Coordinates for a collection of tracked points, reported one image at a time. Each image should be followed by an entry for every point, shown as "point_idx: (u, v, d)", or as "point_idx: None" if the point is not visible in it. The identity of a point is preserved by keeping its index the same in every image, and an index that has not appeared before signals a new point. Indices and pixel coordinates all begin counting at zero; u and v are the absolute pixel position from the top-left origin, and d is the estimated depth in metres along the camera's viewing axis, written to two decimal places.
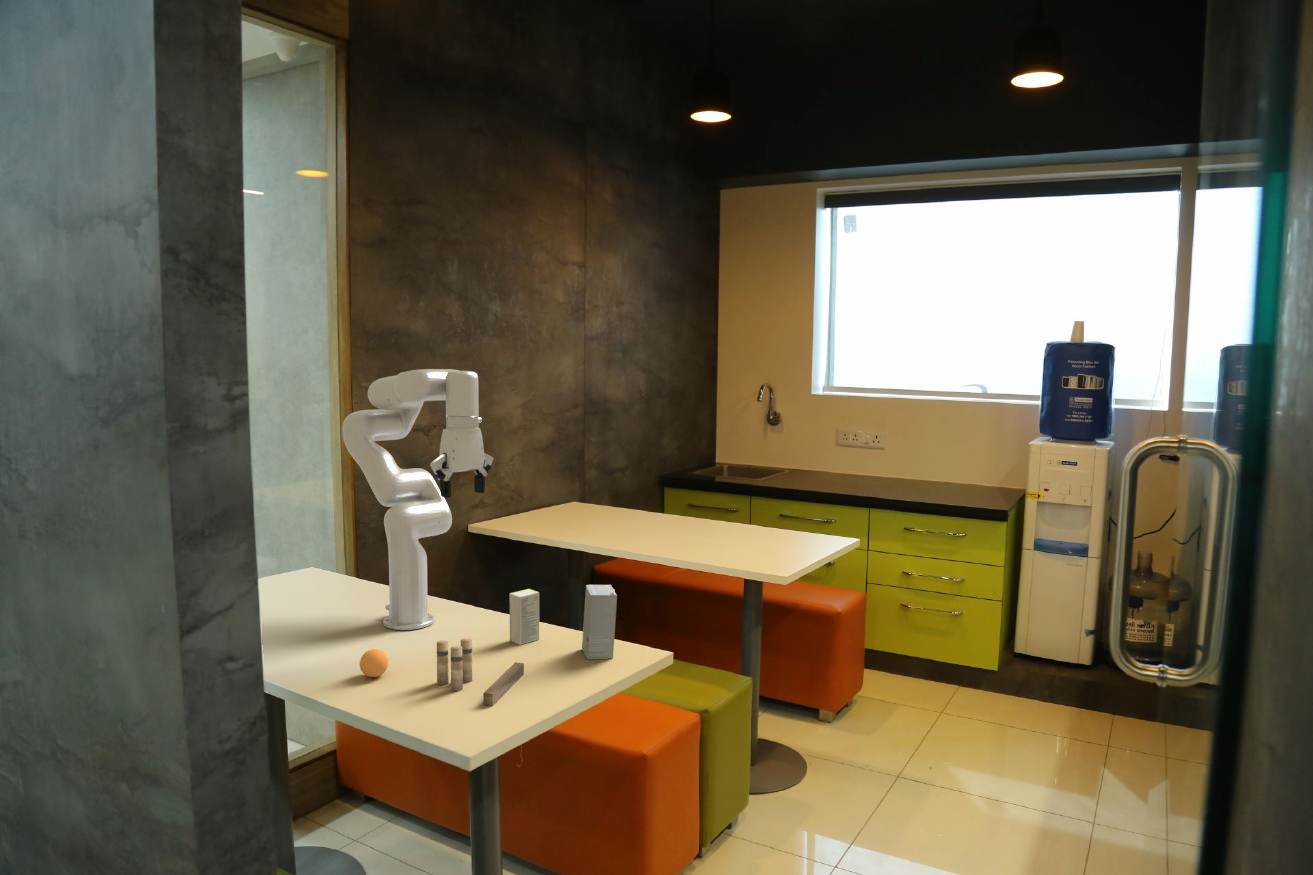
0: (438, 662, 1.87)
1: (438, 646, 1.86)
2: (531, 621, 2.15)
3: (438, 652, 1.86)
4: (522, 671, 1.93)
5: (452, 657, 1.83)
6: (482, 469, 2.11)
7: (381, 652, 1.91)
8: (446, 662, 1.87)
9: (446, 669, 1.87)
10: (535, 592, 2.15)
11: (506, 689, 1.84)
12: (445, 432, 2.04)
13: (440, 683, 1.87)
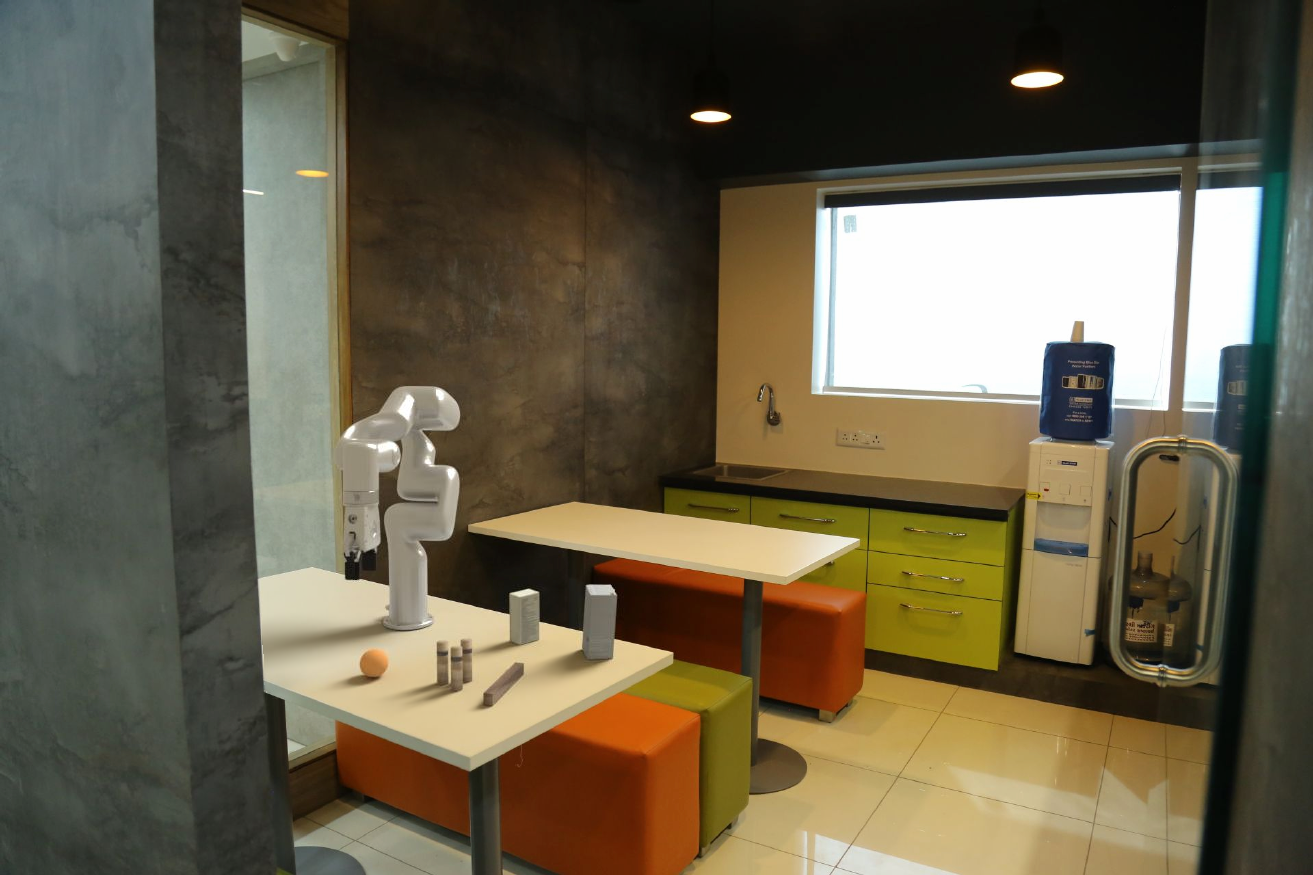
0: (438, 662, 1.87)
1: (438, 646, 1.86)
2: (531, 621, 2.15)
3: (438, 652, 1.86)
4: (522, 671, 1.93)
5: (452, 657, 1.83)
6: None
7: (381, 652, 1.91)
8: (446, 662, 1.87)
9: (446, 669, 1.87)
10: (535, 592, 2.15)
11: (506, 689, 1.84)
12: None
13: (440, 683, 1.87)
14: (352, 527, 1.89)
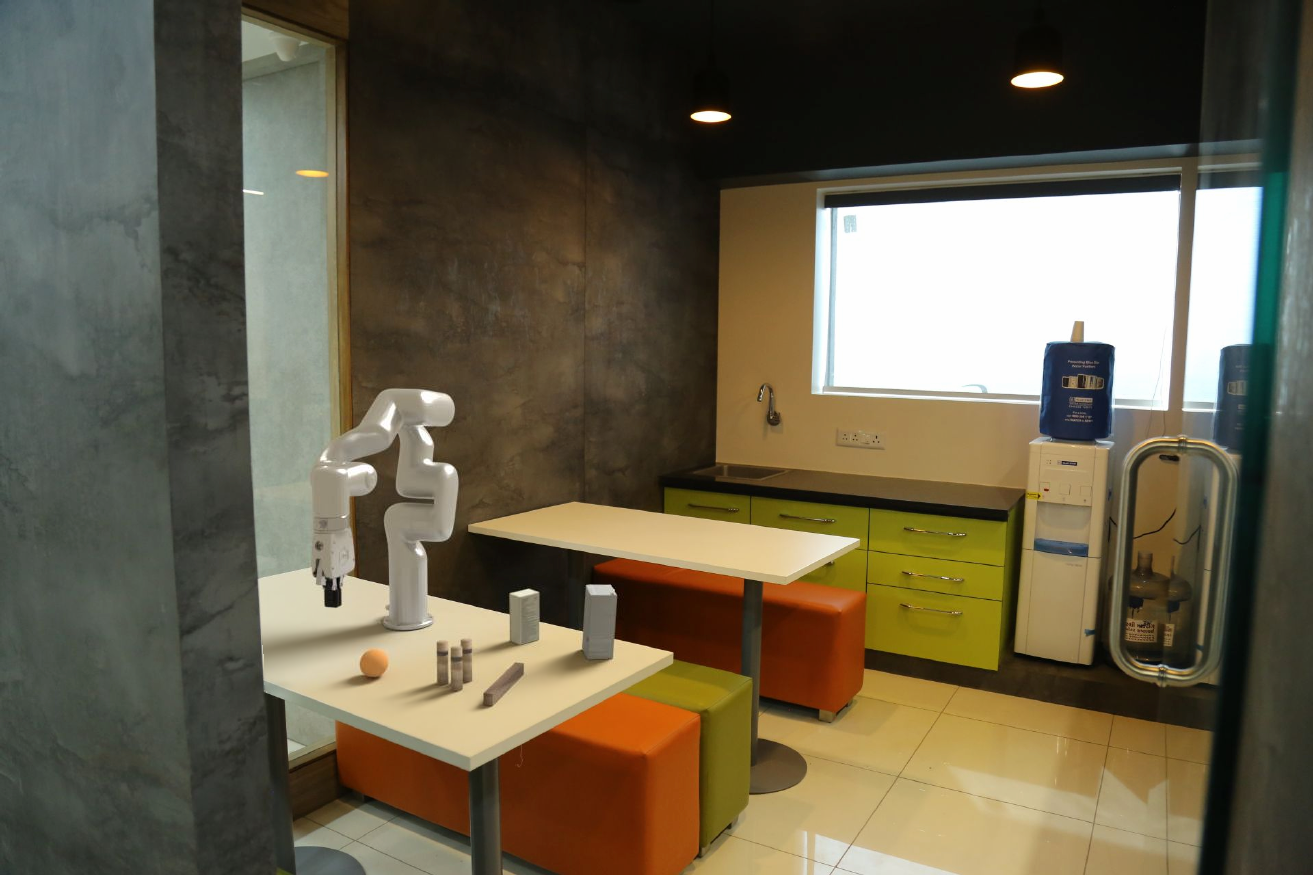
0: (438, 662, 1.87)
1: (438, 646, 1.86)
2: (531, 621, 2.15)
3: (438, 652, 1.86)
4: (522, 671, 1.93)
5: (452, 657, 1.83)
6: None
7: (381, 652, 1.91)
8: (446, 662, 1.87)
9: (446, 669, 1.87)
10: (535, 592, 2.15)
11: (506, 689, 1.84)
12: None
13: (440, 683, 1.87)
14: (318, 554, 1.85)
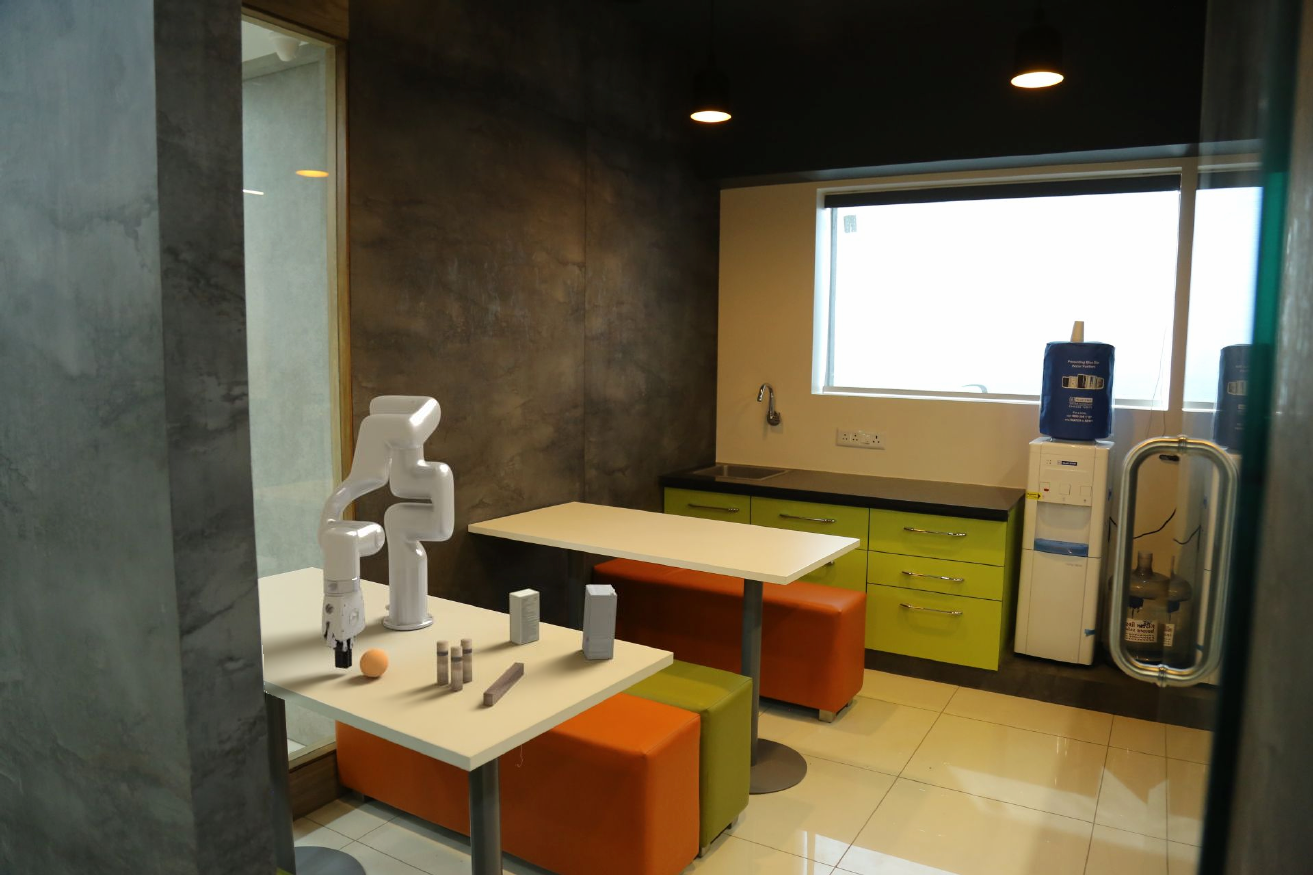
0: (438, 662, 1.87)
1: (438, 646, 1.86)
2: (531, 621, 2.15)
3: (438, 652, 1.86)
4: (522, 671, 1.93)
5: (452, 657, 1.83)
6: None
7: (381, 652, 1.91)
8: (446, 662, 1.87)
9: (446, 669, 1.87)
10: (535, 592, 2.15)
11: (506, 689, 1.84)
12: None
13: (440, 683, 1.87)
14: (329, 617, 1.86)
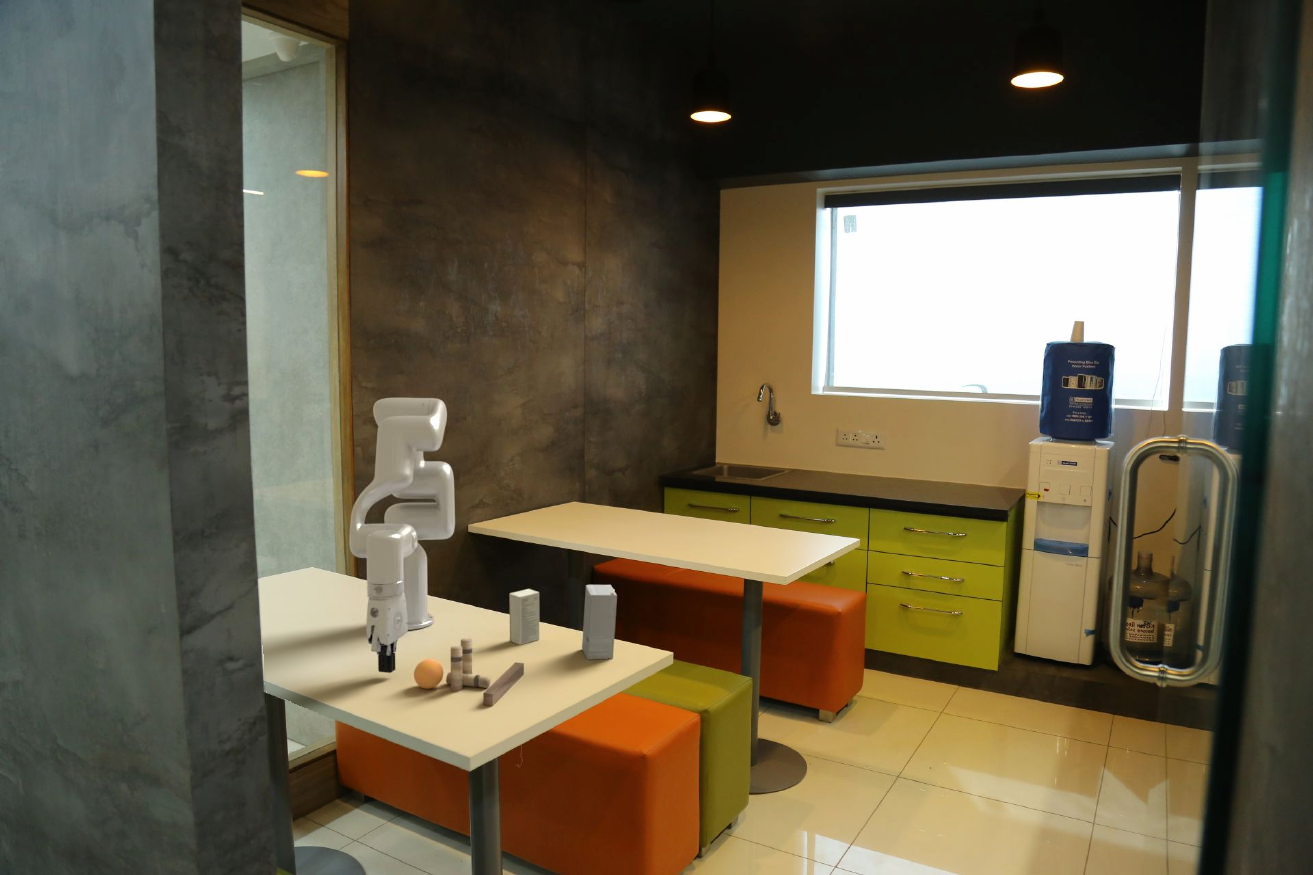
0: (467, 680, 1.85)
1: (483, 682, 1.85)
2: (531, 621, 2.15)
3: (477, 682, 1.85)
4: (522, 671, 1.93)
5: (452, 657, 1.83)
6: None
7: None
8: (468, 685, 1.86)
9: None
10: (535, 592, 2.15)
11: (506, 689, 1.84)
12: None
13: (447, 681, 1.86)
14: (374, 620, 1.84)
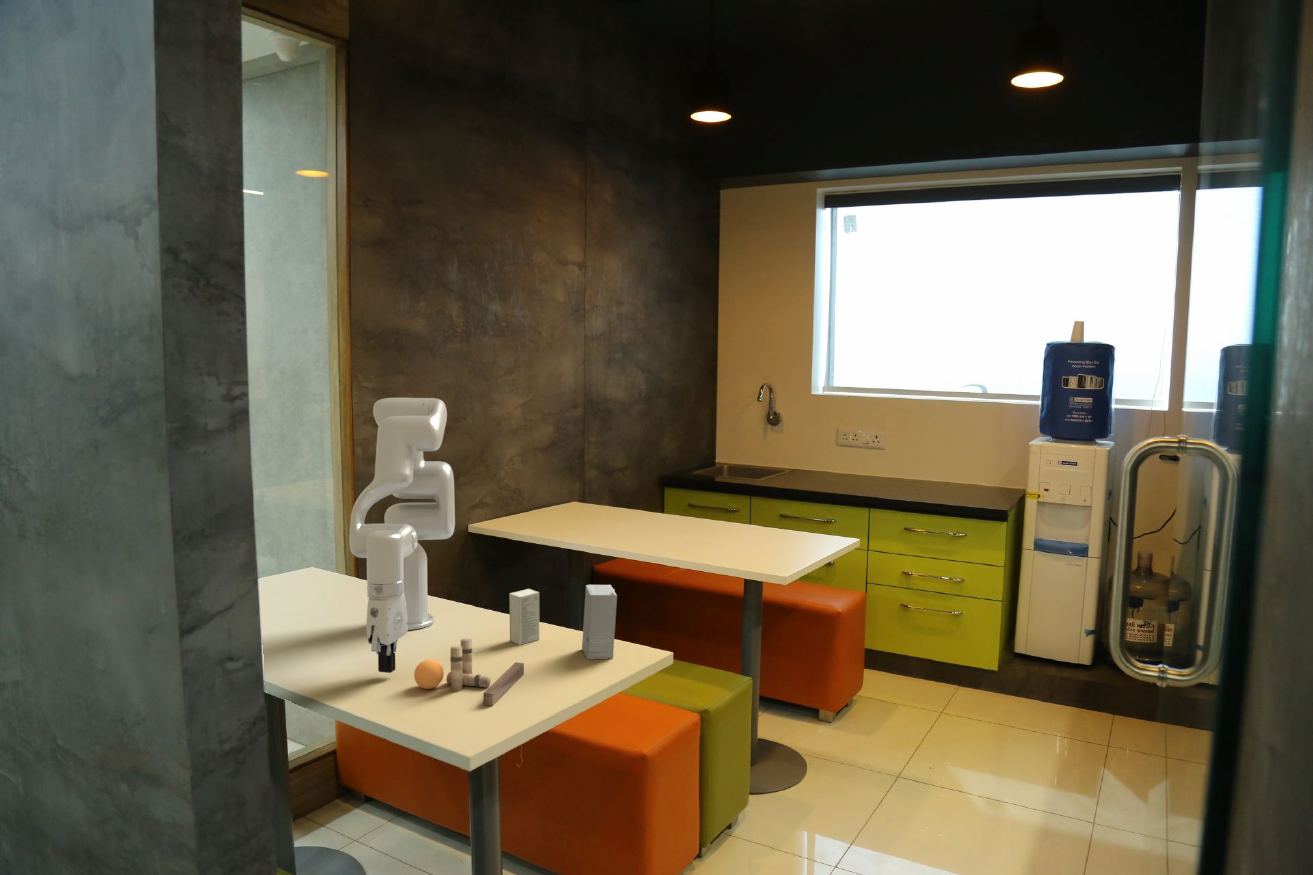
0: (467, 679, 1.86)
1: (483, 681, 1.85)
2: (531, 621, 2.15)
3: (477, 681, 1.85)
4: (522, 671, 1.93)
5: (452, 657, 1.83)
6: None
7: None
8: (468, 685, 1.86)
9: (462, 684, 1.87)
10: (535, 592, 2.15)
11: (506, 689, 1.84)
12: None
13: (447, 680, 1.87)
14: (374, 620, 1.84)
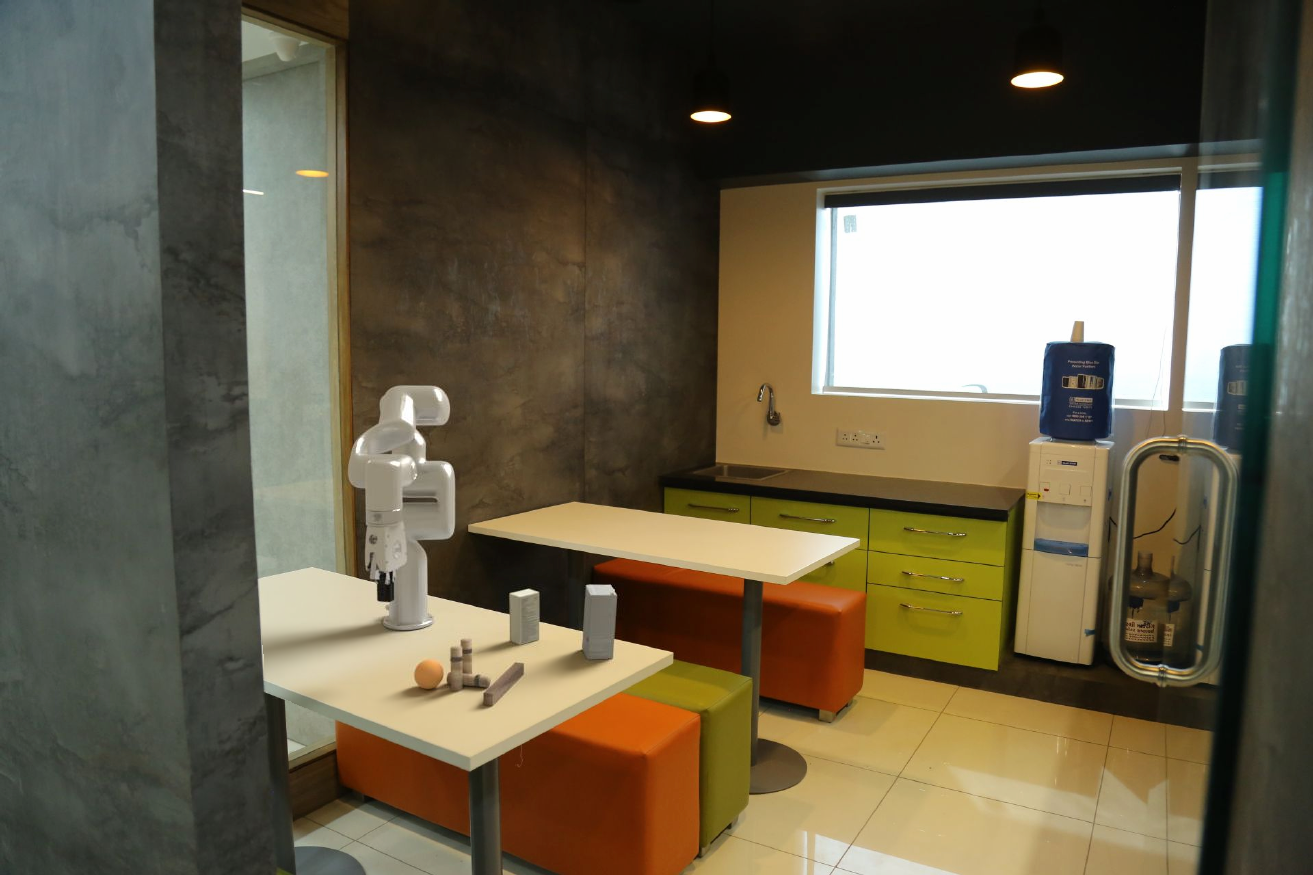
0: (467, 679, 1.86)
1: (483, 681, 1.85)
2: (531, 621, 2.15)
3: (477, 681, 1.85)
4: (522, 671, 1.93)
5: (452, 657, 1.83)
6: None
7: None
8: (468, 685, 1.86)
9: (462, 684, 1.87)
10: (535, 592, 2.15)
11: (506, 689, 1.84)
12: None
13: (447, 680, 1.87)
14: (372, 547, 1.83)
